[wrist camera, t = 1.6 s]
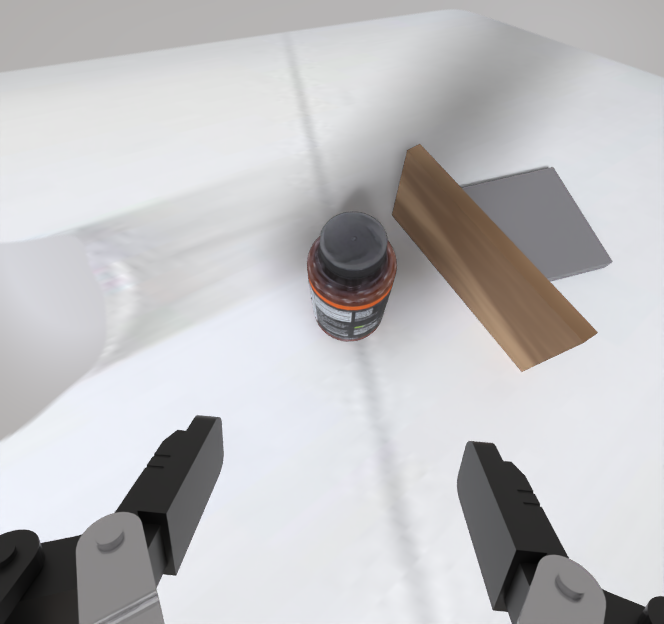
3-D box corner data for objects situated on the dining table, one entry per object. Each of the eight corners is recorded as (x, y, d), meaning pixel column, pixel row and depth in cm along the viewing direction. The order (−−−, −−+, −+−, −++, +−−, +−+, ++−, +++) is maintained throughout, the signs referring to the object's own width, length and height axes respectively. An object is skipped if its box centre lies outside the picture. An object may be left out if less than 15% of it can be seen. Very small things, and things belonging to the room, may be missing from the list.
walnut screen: (402, 209, 36) (419, 143, 28) (532, 364, 30) (598, 332, 23) (391, 215, 36) (407, 150, 28) (521, 371, 30) (584, 342, 22)
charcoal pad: (547, 174, 37) (553, 167, 36) (605, 267, 33) (612, 261, 32) (445, 197, 36) (448, 190, 35) (491, 296, 32) (496, 291, 31)
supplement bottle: (345, 267, 34) (351, 179, 23) (396, 309, 32) (427, 235, 22) (299, 312, 32) (282, 239, 21) (350, 358, 30) (359, 304, 20)
